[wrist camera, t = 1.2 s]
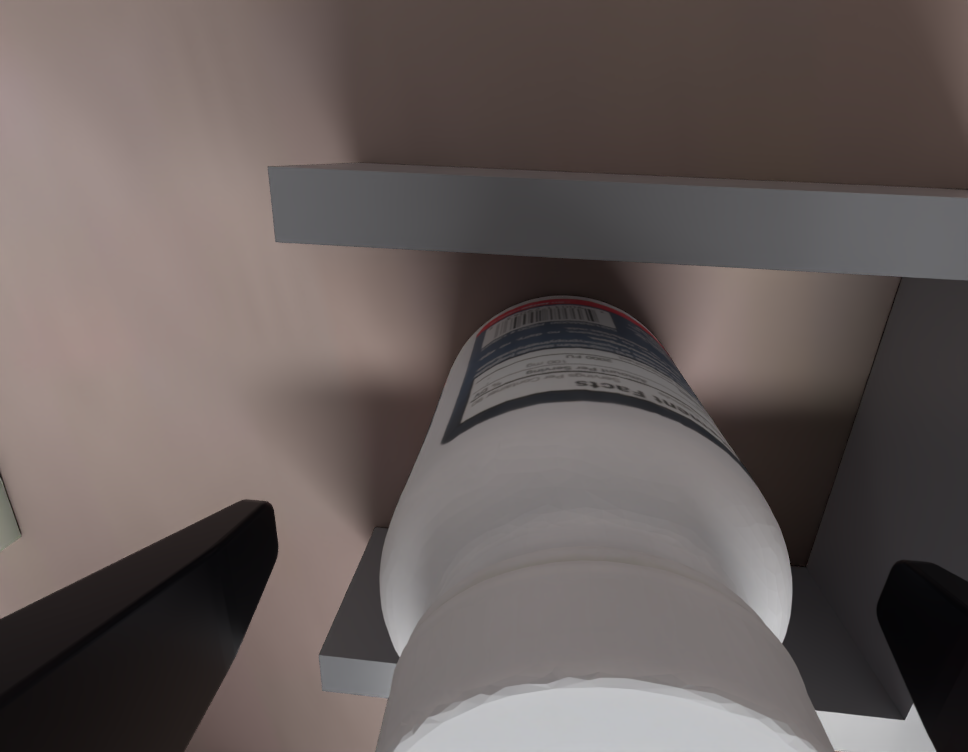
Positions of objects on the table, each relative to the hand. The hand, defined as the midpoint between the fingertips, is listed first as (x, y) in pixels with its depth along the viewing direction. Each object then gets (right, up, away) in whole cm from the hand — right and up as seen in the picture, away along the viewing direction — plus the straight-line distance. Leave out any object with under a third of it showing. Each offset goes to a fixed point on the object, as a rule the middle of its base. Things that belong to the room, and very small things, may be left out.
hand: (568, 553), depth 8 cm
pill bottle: (+1, +2, +5) cm, 5 cm away
